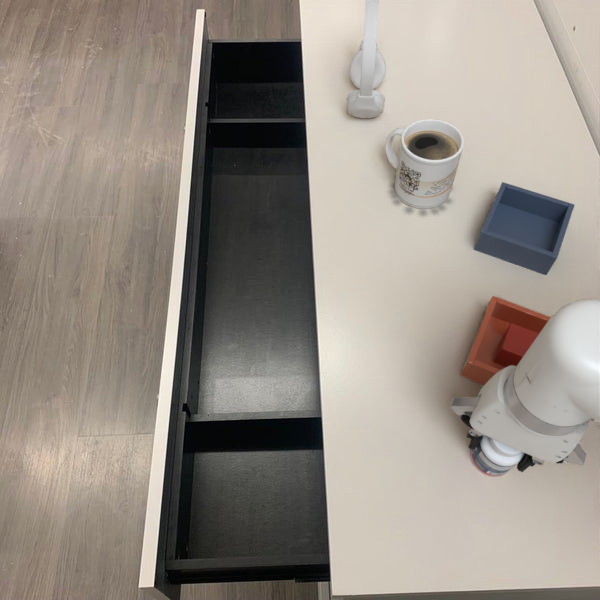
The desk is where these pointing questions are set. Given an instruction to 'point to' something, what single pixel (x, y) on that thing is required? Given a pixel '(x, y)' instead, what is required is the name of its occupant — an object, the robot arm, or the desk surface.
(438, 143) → the mug
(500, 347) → the red block
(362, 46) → the headphones
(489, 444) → the pill bottle
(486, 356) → the terracotta bin
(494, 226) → the slate bin
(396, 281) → the desk surface
